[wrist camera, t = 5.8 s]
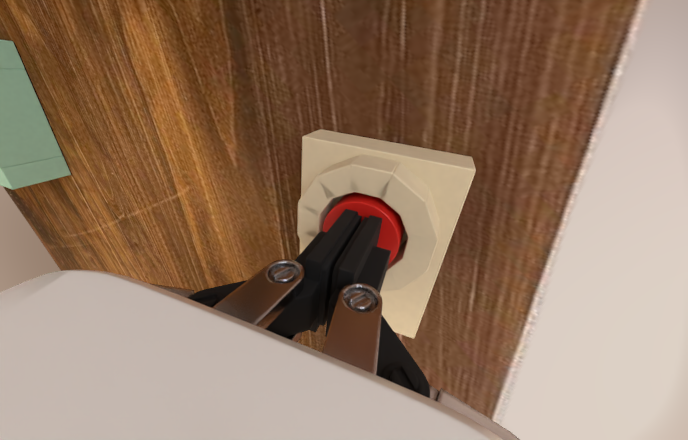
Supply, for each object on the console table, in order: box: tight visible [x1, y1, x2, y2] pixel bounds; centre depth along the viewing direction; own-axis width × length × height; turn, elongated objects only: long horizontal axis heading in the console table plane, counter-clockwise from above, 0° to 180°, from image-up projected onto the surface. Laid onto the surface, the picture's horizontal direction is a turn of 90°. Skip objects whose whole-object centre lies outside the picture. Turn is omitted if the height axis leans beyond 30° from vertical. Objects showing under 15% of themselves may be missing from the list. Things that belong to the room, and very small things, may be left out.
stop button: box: [323, 192, 405, 264], centre depth 13 cm, size 4×4×2 cm
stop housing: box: [297, 129, 476, 338], centre depth 15 cm, size 11×8×4 cm
